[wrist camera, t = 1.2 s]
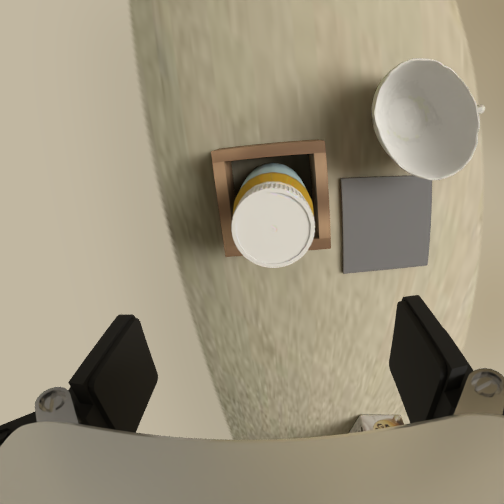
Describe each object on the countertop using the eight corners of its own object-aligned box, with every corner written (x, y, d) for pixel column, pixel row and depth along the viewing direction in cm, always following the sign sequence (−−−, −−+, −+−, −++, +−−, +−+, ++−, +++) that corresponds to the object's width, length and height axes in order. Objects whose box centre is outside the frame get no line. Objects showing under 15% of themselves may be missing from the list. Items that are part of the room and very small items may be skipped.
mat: (340, 178, 36) (341, 178, 36) (430, 175, 35) (432, 175, 35) (342, 271, 41) (343, 273, 40) (425, 263, 39) (427, 265, 39)
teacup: (370, 180, 36) (392, 193, 29) (341, 78, 32) (358, 66, 25) (469, 155, 34) (504, 164, 26) (447, 63, 30) (480, 53, 22)
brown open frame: (219, 148, 36) (210, 151, 31) (318, 139, 35) (324, 140, 30) (231, 241, 40) (225, 256, 35) (324, 234, 39) (330, 248, 34)
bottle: (313, 204, 38) (335, 249, 24) (260, 229, 39) (252, 287, 25) (286, 151, 36) (295, 164, 22) (232, 178, 37) (207, 209, 23)
